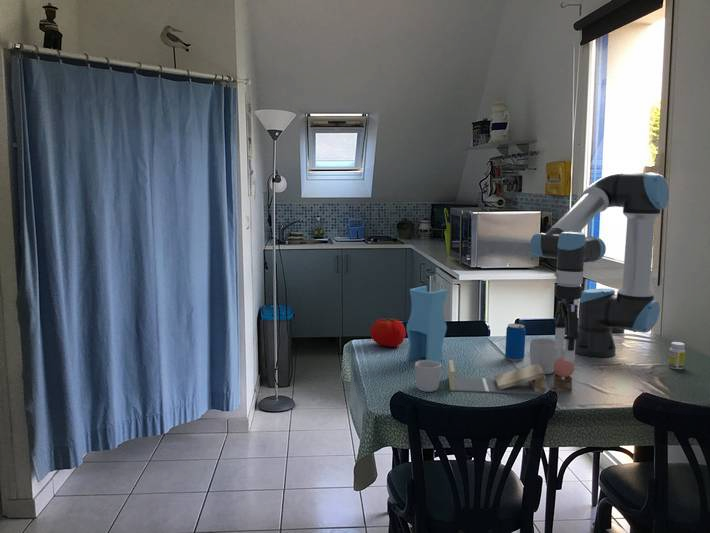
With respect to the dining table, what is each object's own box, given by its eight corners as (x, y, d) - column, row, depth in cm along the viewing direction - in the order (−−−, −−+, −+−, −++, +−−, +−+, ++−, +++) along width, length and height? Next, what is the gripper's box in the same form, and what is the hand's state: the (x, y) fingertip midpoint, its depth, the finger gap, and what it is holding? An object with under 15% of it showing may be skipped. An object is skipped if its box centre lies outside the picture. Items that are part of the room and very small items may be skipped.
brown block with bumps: (568, 386, 196) (569, 372, 195) (572, 391, 191) (573, 377, 190) (553, 386, 196) (554, 372, 195) (556, 391, 192) (557, 376, 191)
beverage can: (524, 362, 220) (526, 328, 218) (505, 361, 222) (506, 327, 220) (523, 356, 227) (525, 323, 225) (504, 355, 228) (506, 322, 226)
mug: (541, 377, 205) (542, 346, 203) (523, 368, 213) (524, 339, 211) (572, 372, 210) (574, 342, 208) (553, 364, 218) (555, 336, 216)
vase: (445, 360, 221) (447, 289, 218) (428, 366, 214) (430, 293, 211) (422, 354, 228) (424, 285, 224) (405, 360, 221) (407, 289, 217)
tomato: (411, 344, 241) (411, 317, 239) (395, 352, 231) (395, 323, 229) (380, 339, 248) (381, 313, 246) (364, 346, 238) (364, 319, 236)
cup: (410, 382, 199) (410, 357, 197) (435, 381, 199) (436, 356, 198) (416, 394, 188) (417, 368, 187) (443, 393, 189) (444, 367, 188)
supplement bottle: (682, 366, 217) (684, 342, 216) (684, 370, 213) (687, 345, 212) (667, 364, 219) (669, 340, 218) (669, 368, 214) (671, 344, 213)
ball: (571, 374, 196) (572, 355, 195) (575, 380, 190) (577, 360, 189) (551, 373, 196) (552, 354, 195) (555, 379, 190) (556, 360, 189)
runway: (545, 381, 200) (546, 363, 199) (553, 395, 188) (554, 375, 187) (448, 378, 203) (448, 359, 202) (450, 390, 191) (450, 371, 190)
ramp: (539, 383, 199) (540, 363, 198) (545, 393, 190) (546, 372, 189) (494, 381, 200) (495, 361, 199) (497, 391, 191) (498, 370, 190)
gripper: (547, 277, 201) (543, 343, 204) (565, 291, 177) (560, 365, 180) (571, 278, 201) (567, 344, 204) (593, 292, 176) (587, 367, 179)
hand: (563, 354), depth 192 cm, fingers open, 13 cm apart
